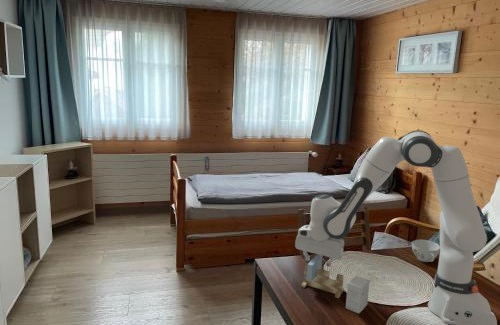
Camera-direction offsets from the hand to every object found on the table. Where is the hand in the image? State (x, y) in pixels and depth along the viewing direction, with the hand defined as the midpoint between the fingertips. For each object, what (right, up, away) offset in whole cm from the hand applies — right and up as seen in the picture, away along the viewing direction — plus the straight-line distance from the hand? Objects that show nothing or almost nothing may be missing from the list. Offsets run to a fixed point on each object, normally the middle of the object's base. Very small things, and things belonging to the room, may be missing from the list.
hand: (317, 263), depth 159 cm
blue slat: (-2, -4, -3) cm, 5 cm away
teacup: (+56, -5, +23) cm, 61 cm away
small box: (+12, -13, -15) cm, 23 cm away
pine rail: (+1, -10, -3) cm, 10 cm away
